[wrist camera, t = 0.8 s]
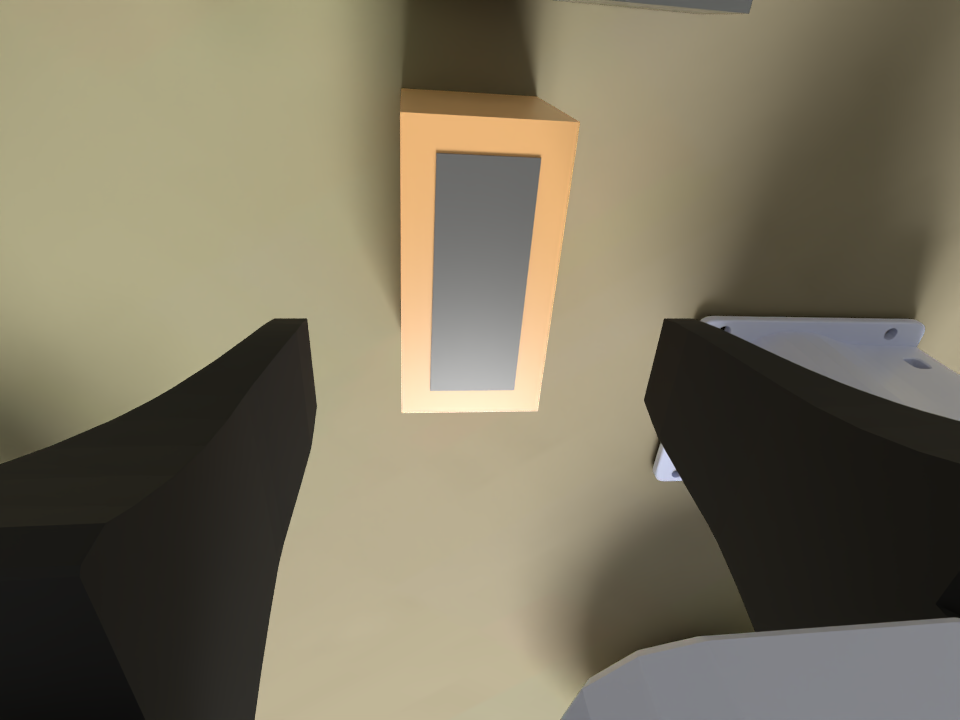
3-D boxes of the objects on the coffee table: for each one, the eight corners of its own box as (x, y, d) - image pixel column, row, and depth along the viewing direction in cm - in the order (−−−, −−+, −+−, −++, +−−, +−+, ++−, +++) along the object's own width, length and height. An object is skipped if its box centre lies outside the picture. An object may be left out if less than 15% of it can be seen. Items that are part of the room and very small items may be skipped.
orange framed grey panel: (535, 96, 17) (581, 122, 13) (510, 331, 21) (538, 412, 17) (401, 87, 16) (400, 112, 12) (402, 331, 20) (401, 414, 16)
